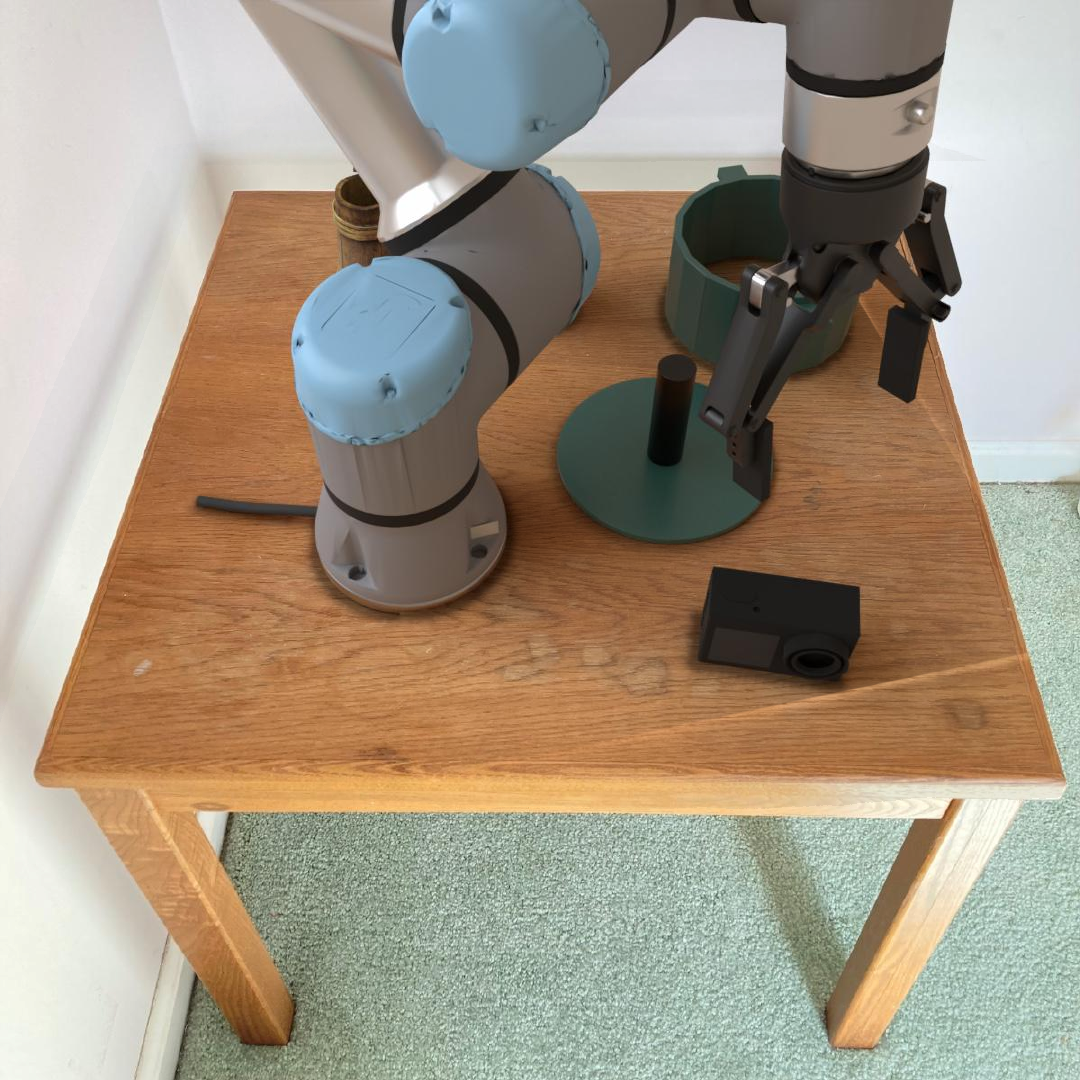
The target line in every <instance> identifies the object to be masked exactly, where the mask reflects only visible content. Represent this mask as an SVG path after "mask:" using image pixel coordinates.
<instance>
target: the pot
mask: <svg viewBox="0 0 1080 1080" xmlns="http://www.w3.org/2000/svg"><path fill="white" fill-rule="evenodd" d="M716 177H717V180H718V181H713V182H709V183H708V184H707V185H705V186H703V187H702V188H700V189H698V190H697V191H695V192H694V193H692V194H690V195H689V196H688V197H687V199H686V200H685V202H684V203H683V205H682V206H681V207H680V208H679V210H678V211H677V213H676V214H675V219H674V226H673V227H674V228H673V234H672V242H671V252H670V259H669V267H668V276H667V283H666V289H665V290H666V291H665V301H664V316H665V318H666V320H667V323H668V325H669V328H670V330H671V332H672V334H673V336H674V337H675V338H676V339H677V340H679V341H680V342H681V344H683V346H685V347H686V348H687V349H688V350H689V351H690V352H691V353H692V354H693V355H695V356H697V357H699V358H701V359H703V360H705V361H707V362H709V363H711V364H713V365H715V366H716V364H717V361H718V358H719V356H720V353H721V350H722V347H723V345H724V342H725V339H726V337H727V334H728V331H729V328H730V326H731V323H732V320H733V317H734V315H735V312H736V309H737V307H738V304H739V295H740V285H738V284H736V283H733V282H731V281H729V280H727V279H725V278H723V277H721V276H718V275H716V274H714V273H712V272H711V271H710V270H709V269H707V268H706V267H705V266H704V265H706V264H710V263H714V262H717V261H721V260H725V259H728V258H756V257H757V258H762V259H767V260H772V261H777V262H782V259H783V256H784V253H785V251H786V248H787V245H788V242H789V233H788V230H787V227H786V224H785V222H784V219H783V217H782V214H781V211H780V205H779V201H780V179H781V175H778V174H748V172H747V171H746V169H745V167H744V166H743V164H735V165H729V166H721V167H718V169H717V175H716ZM860 296H861V294H858V295H855V296H853V297H852V298H851V299H850V300H849V301H848V302H846V303H845V304H844V305H843V306H841V307H840V308H838V309H836V311H835V313H834V314H833V316H832V318H831V320H830V321H829V323H828V325H827V327H826V328H825V329H824V330H823V331H820V332H816V333H814V334H813V336H812V338H811V339H810V341H809V343H808V345H807V346H806V348H805V350H804V352H803V353H802V355H801V357H800V359H799V360H798V362H797V364H796V366H795V367H794V369H793V371H792V373H791V374H790V375H792V374H796V373H799V372H802V371H805V370H807V369H808V370H809V369H811V368H814V367H818V366H820V365H821V364H822V363H824V362H825V361H826V360H827V359H829V358H830V357H831V356H833V355H834V354H835V353H836V352H838V351H839V350H840V348H841V347H842V345H843V343H844V341H845V339H846V337H847V334H848V333H849V330H850V328H851V324H852V321H853V319H854V315H855V312H856V310H857V306H858V303H859V300H860V298H861V297H860ZM794 302H795V303H796V304H798V305H799V306H801V307H803V308H804V309H806V310H808V311H810V312H813V311H814V310H815V308H816V306H817V305H816V304H814V303H812V302H811V301H809V300H807V299H806V298H805V297H803V295H802V294H801V293H800V292H799V291H797V293H796V295H795V297H794Z"/></svg>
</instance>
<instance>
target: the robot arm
mask: <svg viewBox="0 0 1080 1080" xmlns="http://www.w3.org/2000/svg"><path fill="white" fill-rule="evenodd" d="M237 2H238V3H239V4H240V5H241V7H242V8H243V10H244V12H245V13H246V14H247V16H248V17H249V18H250V20H251V22H252V23H253V24H254V25H255V27H256V28H257V30H258V32H259V34H261V36H262V37H263V39H264V40H265V41H266V43H267V45H268V46H269V48H270V49H271V51H273V54H275V56H276V57H277V59H278V61H279V62H280V64H281V65H282V66H283V68H284V69H285V70H286V72H287V73H288V75H289V76H290V79H292V81H293V82H294V83H295V85H296V87H297V88H298V89H299V90H300V93H302V95H303V96H304V98H305V99H306V101H307V102H308V104H309V106H311V108H312V110H314V112H315V114H316V115H317V117H318V118H319V120H320V121H321V123H322V124H323V126H324V127H325V128H326V130H327V131H328V132H329V134H330V136H331V137H332V138H333V140H334V141H335V143H336V144H337V146H338V147H339V148H340V150H341V151H342V153H343V154H344V155H345V157H346V158H347V160H348V161H349V163H350V164H351V167H354V168H355V170H356V171H357V172H356V174H359V176H360V177H361V179H362V180H363V181H364V183H365V184H366V186H367V187H368V189H369V190H370V192H371V193H372V194H373V196H374V197H375V199H376V200H377V202H378V203H379V208H380V217H379V224H378V231H377V238H378V240H379V242H380V243H381V244H382V246H383V247H384V249H385V250H386V251H387V253H388V254H389V256H387V257H378V258H373V260H372V263H371V265H370V266H368V267H362V266H361V265H360V264H359V263H355V264H352V265H350V266H347V267H345V268H343V269H341V270H340V271H338V272H337V271H336V272H335V273H333V274H332V275H330V276H328V277H327V278H326V279H324V280H323V281H322V282H321V283H320V284H319V285H318V286H316V288H315V289H313V291H312V292H311V293H310V294H309V296H308V297H307V298H306V300H305V301H304V302H303V304H302V306H301V308H300V310H299V312H298V314H297V316H296V318H295V321H294V324H293V329H292V332H291V342H290V343H291V345H290V346H291V347H290V350H291V357H292V358H291V359H292V363H293V374H294V378H293V382H294V387H295V392H296V395H297V398H298V402H299V405H300V407H301V409H302V410H303V412H304V416H305V419H306V422H307V425H308V430H309V432H310V436H311V440H312V443H313V448H314V452H315V455H316V459H317V462H318V466H319V467H318V468H319V470H320V471H319V472H320V474H321V477H322V481H323V483H322V487H321V491H320V495H319V500H318V503H317V504H318V505H316V506H315V505H301V504H300V505H298V504H285V503H265V502H249V501H242V500H241V501H240V500H232V499H227V498H226V499H225V498H218V497H212V496H205V495H198V496H197V497H196V501H195V504H196V506H197V507H200V508H208V509H214V510H220V511H226V512H227V511H228V512H234V513H243V514H252V515H270V516H272V515H273V516H287V517H288V516H289V517H305V518H315V519H314V541H315V547H316V551H317V554H318V557H319V560H320V561H319V562H320V564H321V566H322V568H323V571H324V573H325V574H326V576H327V578H328V579H329V581H330V582H331V583H332V584H333V585H334V586H335V588H336V589H337V590H339V591H340V592H341V593H342V594H344V595H345V596H346V597H347V598H349V599H350V600H352V601H353V602H355V603H358V604H360V605H362V606H364V607H367V608H369V609H373V610H377V611H380V612H385V613H391V614H400V612H418V611H419V612H420V611H426V610H430V609H435V608H438V607H442V606H445V605H447V604H450V603H452V602H455V601H458V600H459V599H461V598H463V597H464V596H466V595H468V594H469V593H471V592H472V591H473V590H475V589H476V588H478V587H479V586H480V585H481V584H482V583H483V582H484V581H486V579H487V578H488V577H489V576H490V575H491V574H492V572H493V571H494V570H495V568H496V567H497V565H498V564H499V562H500V561H501V558H502V556H503V553H504V551H505V548H506V544H507V538H508V537H507V536H508V521H507V518H508V517H507V512H506V507H505V503H504V500H503V497H502V494H501V492H500V490H499V487H498V486H497V484H496V482H495V481H494V479H493V478H492V476H491V474H490V472H489V471H488V470H487V468H486V466H485V464H484V463H483V461H482V460H481V458H480V449H479V436H478V434H479V433H478V427H479V424H480V421H481V420H482V418H483V416H484V415H485V414H486V413H487V412H488V411H489V410H490V408H492V406H494V404H495V403H496V402H497V401H498V399H500V397H501V396H502V395H503V394H504V393H505V392H506V391H507V389H509V387H510V386H512V385H513V384H514V383H515V381H516V380H517V379H518V378H520V376H521V375H522V374H523V373H524V372H525V371H526V369H528V367H529V366H530V365H531V364H532V363H533V361H534V360H535V359H536V358H537V357H538V356H539V355H540V354H541V352H543V350H544V349H545V348H546V347H547V346H548V345H549V344H551V342H552V341H553V340H554V339H555V338H556V337H557V336H558V335H559V334H561V333H562V332H563V331H564V330H566V328H567V327H568V326H570V324H572V322H573V321H574V320H575V318H576V317H577V315H578V313H579V311H580V308H581V307H582V306H583V305H584V303H585V302H586V301H587V299H588V298H589V297H590V295H591V294H592V292H593V290H594V288H595V286H596V283H597V281H598V277H599V273H600V268H601V262H602V250H601V249H602V248H601V240H600V235H599V231H598V228H597V225H596V222H595V220H594V217H593V215H592V212H591V210H590V208H589V206H588V205H587V204H586V202H585V200H584V198H583V197H582V195H581V194H580V193H579V191H578V190H577V189H576V187H574V186H573V184H571V183H570V181H568V180H567V179H566V178H565V177H564V176H562V175H557V176H555V175H553V173H552V169H551V168H549V167H547V166H546V165H543V164H540V163H536V161H538V160H539V159H540V158H542V157H543V156H545V155H546V154H547V153H549V152H551V151H552V150H554V148H556V147H557V146H558V145H560V144H561V143H562V142H564V141H565V140H566V139H568V138H570V137H571V136H574V135H575V134H577V133H578V132H580V131H581V130H582V129H584V128H585V127H586V126H587V125H588V123H589V122H590V121H591V120H593V118H594V117H595V116H597V114H598V112H599V110H600V108H601V106H602V105H604V103H605V102H606V101H607V100H608V99H610V97H611V96H612V95H614V93H616V92H617V90H618V89H620V88H621V86H623V84H625V83H626V82H627V81H628V80H629V79H630V78H631V77H632V76H633V75H634V74H635V73H636V72H637V71H638V70H639V69H640V68H641V67H643V66H645V65H646V64H647V63H648V62H649V61H651V60H652V59H653V58H655V57H656V56H657V55H658V54H659V53H660V52H661V51H663V49H664V48H665V47H666V46H667V45H668V44H670V43H671V42H672V41H673V40H674V39H675V38H676V37H677V36H678V35H680V34H681V32H683V31H684V30H685V29H686V28H687V27H689V25H690V24H691V23H692V22H693V21H694V20H695V19H700V18H707V19H708V18H709V19H719V20H727V21H734V22H735V21H737V22H745V23H750V24H751V23H753V24H754V23H755V24H768V23H770V24H777V25H780V26H785V44H786V46H785V48H786V50H785V69H784V71H785V72H784V89H783V105H782V106H783V107H782V125H781V126H782V127H781V139H782V140H781V141H782V145H784V147H783V149H782V151H781V161H780V176H781V179H780V201H779V205H780V211H781V214H782V217H783V219H784V222H785V224H786V227H787V230H788V233H789V242H788V245H787V248H786V251H785V253H784V256H783V259H782V261H780V262H778V263H777V264H774V265H772V266H769V267H767V268H763V267H762V266H760V265H759V264H757V263H754V262H753V263H749V264H748V265H747V266H746V267H745V268H744V270H743V271H742V273H741V278H740V285H739V286H740V295H739V304H738V307H737V309H736V312H735V315H734V317H733V320H732V323H731V326H730V328H729V331H728V334H727V337H726V339H725V342H724V345H723V347H722V350H721V353H720V356H719V358H718V361H717V364H716V365H715V367H714V370H713V372H712V375H711V378H710V380H709V383H708V385H707V386H708V388H707V391H706V394H705V397H704V399H703V402H702V405H701V408H700V410H699V414H698V415H699V418H700V419H701V420H702V421H704V422H705V423H706V424H708V425H709V426H711V427H712V428H713V429H715V430H716V431H717V432H719V433H720V434H722V435H723V436H724V437H726V438H727V454H728V456H729V457H730V458H731V459H733V481H734V482H735V483H736V484H738V485H739V486H740V487H741V488H743V489H744V490H745V491H747V492H748V493H749V494H751V495H752V496H753V497H755V498H756V499H757V500H759V501H760V502H761V504H762V503H763V502H764V501H766V500H768V499H769V498H770V497H771V485H772V484H771V483H772V479H771V464H772V455H773V444H774V443H773V440H774V422H773V421H772V420H770V419H769V418H767V416H768V414H769V413H770V411H771V409H772V408H773V406H774V404H775V402H776V401H777V399H778V397H779V395H780V393H781V392H782V390H783V388H784V387H785V385H786V383H787V381H788V380H789V378H790V376H791V375H792V374H793V373H792V371H793V369H794V367H795V366H796V364H797V362H798V360H799V359H800V357H801V355H802V353H803V352H804V350H805V348H806V346H807V345H808V343H809V341H810V339H811V338H812V336H813V334H814V333H816V332H820V331H823V330H824V329H825V328H826V327H827V325H828V323H829V321H830V320H831V318H832V316H833V314H834V313H835V311H836V309H838V308H840V307H841V306H843V305H844V304H845V303H846V302H848V301H849V300H850V299H851V298H852V297H853V296H855V295H858V294H860V295H861V294H864V293H866V292H867V291H869V290H871V289H872V288H873V284H874V282H875V281H876V280H877V281H878V282H880V284H881V285H883V286H884V288H885V289H886V290H888V292H890V293H891V294H892V295H893V297H895V298H896V299H897V301H898V302H900V303H902V304H903V307H902V306H900V305H898V304H895V305H892V307H890V308H889V309H888V310H887V316H886V323H885V324H886V325H885V331H884V337H883V345H882V351H881V358H880V364H879V372H878V379H877V387H879V388H881V389H882V390H884V391H886V392H887V393H889V394H891V395H892V396H894V397H896V398H897V399H899V400H901V401H902V402H904V403H906V404H907V405H908V404H910V403H912V402H913V401H914V400H916V397H917V394H918V393H917V392H918V387H919V382H920V376H921V369H922V365H923V359H924V353H925V349H926V348H927V347H926V346H927V344H928V342H929V335H930V331H931V325H932V320H934V321H936V322H937V323H943V322H945V321H946V320H947V319H948V317H949V315H950V314H951V311H952V307H951V305H950V304H948V303H947V302H945V301H943V300H942V299H944V298H945V297H946V296H948V297H950V298H952V297H954V296H956V295H957V294H958V293H959V292H960V290H961V289H962V285H963V280H962V276H961V272H960V269H959V264H958V261H957V257H956V253H955V250H954V249H955V248H954V246H953V243H952V238H951V235H950V231H949V227H948V224H947V221H946V216H945V213H946V204H947V195H948V194H947V193H948V191H947V190H948V189H947V187H946V186H945V185H942V184H940V183H938V182H935V181H933V180H931V179H929V178H927V175H928V169H929V164H930V163H929V162H930V156H931V152H930V147H929V144H930V142H931V140H932V137H933V132H934V126H935V119H936V111H937V104H938V97H939V91H940V84H941V76H942V69H943V66H944V62H945V55H946V48H947V40H948V35H949V29H950V24H951V17H952V12H953V6H954V0H237ZM903 234H904V237H905V241H906V244H907V247H908V250H909V253H910V256H911V259H912V263H913V266H914V268H915V271H916V273H915V271H914V270H913V269H912V268H911V266H912V264H911V263H909V261H908V260H907V259H906V258H905V257H904V255H902V254H901V252H900V251H899V248H898V247H897V246H896V245H897V244H898V242H899V240H900V238H901V236H902V235H903ZM797 292H800V293H801V294H802V295H803V297H805V298H806V299H807V300H809V301H811V302H812V303H814V304H816V305H817V306H816V308H815V310H814V311H813V312H810V311H808V310H806V309H804V308H803V307H801V306H799V305H798V304H796V303H795V302H794V297H795V295H796V293H797ZM791 373H792V374H791Z"/></svg>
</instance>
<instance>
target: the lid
mask: <svg viewBox="0 0 1080 1080" xmlns="http://www.w3.org/2000/svg"><path fill="white" fill-rule="evenodd" d="M697 372H698V367H697V364H696V362H695V361H694V360H693V359H692V358H691V357H689V356H687V355H685V354H681V353H671V354H667V355H665V356H663V357H661V359H660V360H659V361H658V363H657V369H656V376H653V377H651V376H650V377H640V378H632V379H629V380H624V381H621V382H617V383H614V384H611V385H609V386H607V387H604V388H602V389H600V390H598V391H596V392H594V393H593V394H592V395H590V396H587V398H585V399H584V400H583V401H582V402H580V403H579V404H578V406H576V407H575V409H573V411H572V412H571V414H570V415H569V416H568V417H567V418H566V420H565V422H564V424H563V427H562V428H561V430H560V434H559V437H558V440H557V450H556V461H557V462H556V463H557V470H558V474H559V477H560V479H561V482H562V485H563V487H564V489H565V490H566V492H567V494H568V495H569V497H570V498H571V500H572V501H573V502H574V504H575V505H576V506H577V507H578V508H579V509H580V510H581V511H582V512H583V513H584V514H585V515H586V516H588V517H589V518H590V519H592V520H593V521H595V522H596V523H597V524H599V525H600V526H602V527H605V528H606V529H608V530H609V531H612V532H614V533H616V534H619V535H620V536H623V537H627V538H629V539H633V540H636V541H639V542H640V541H641V542H646V543H650V544H651V543H652V544H663V545H683V544H692V543H693V544H694V543H698V542H703V541H707V540H711V539H714V538H716V537H719V536H722V535H725V534H726V533H729V532H730V531H732V530H734V529H736V528H737V527H739V526H740V525H742V524H743V523H744V522H746V521H747V520H748V519H749V518H750V517H751V516H752V515H753V514H754V513H755V512H756V511H757V510H758V508H759V507H760V506H761V505H762V503H761V502H760V501H759V500H757V499H756V498H755V497H753V496H752V495H751V494H749V493H748V492H747V491H745V490H744V489H743V488H741V487H740V486H739V485H738V484H736V483H735V482H734V481H733V459H731V458H730V457H729V456H728V454H727V438H726V437H724V436H723V435H722V434H720V433H719V432H717V431H716V430H715V429H713V428H712V427H711V426H709V425H708V424H706V423H705V422H704V421H702V420H701V419H700V418H699V415H698V414H699V410H700V408H701V405H702V402H703V399H704V397H705V394H706V391H707V388H708V386H709V385H705V384H704V383H703V384H702V383H699V382H696V378H697ZM773 472H774V456H773V454H772V464H771V480H772V479H773Z"/></svg>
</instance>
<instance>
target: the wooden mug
mask: <svg viewBox="0 0 1080 1080" xmlns="http://www.w3.org/2000/svg"><path fill="white" fill-rule="evenodd" d="M352 167H353V166H352ZM352 172H353V173H356V174H352V175H349V176H347V177H344V178H342V179H341V180H340V181H339V182H338V183H337V184H336V186H335V189H334V198H333V201H332V202H331V203H332V204H331V205H332V223H333V225H334V227H335V228H336V235H337V262H338V264H337V265H338V266H337V269H336V273H337V272H338V271H340V270H341V269H343V268H345V267H347V266H350V265H352V264H355V263H359V264H360V265H361V266H362V267H368V266H370V265H371V263H372V260H373V258H378V257H387V256H389V254H388V253H387V251H386V250H385V249H384V247H383V246H382V244H381V243H380V242H379V240H378V238H377V231H378V224H379V217H380V208H379V203H378V202H377V200H376V199H375V197H374V196H373V194H372V193H371V192H370V190H369V189H368V187H367V186H366V184H365V183H364V181H363V180H362V179H361V177H360V176H359V174H358V173H357V171H356V170H355V168H354V167H353V168H352Z"/></svg>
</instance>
